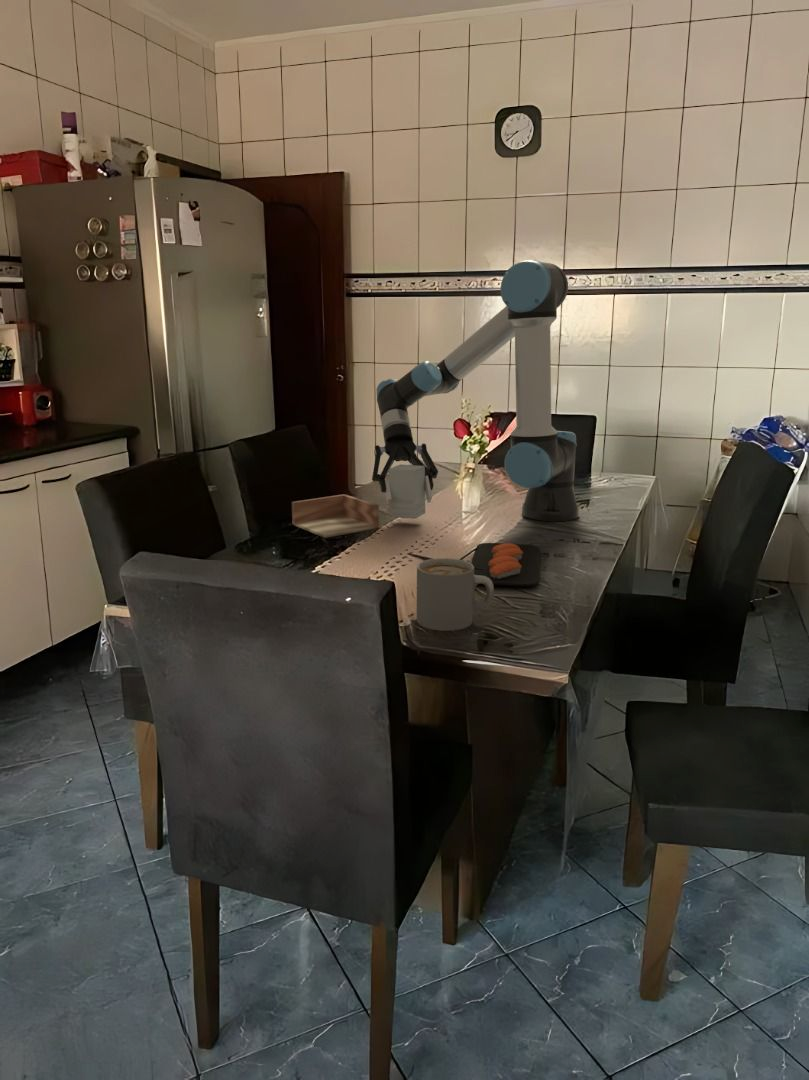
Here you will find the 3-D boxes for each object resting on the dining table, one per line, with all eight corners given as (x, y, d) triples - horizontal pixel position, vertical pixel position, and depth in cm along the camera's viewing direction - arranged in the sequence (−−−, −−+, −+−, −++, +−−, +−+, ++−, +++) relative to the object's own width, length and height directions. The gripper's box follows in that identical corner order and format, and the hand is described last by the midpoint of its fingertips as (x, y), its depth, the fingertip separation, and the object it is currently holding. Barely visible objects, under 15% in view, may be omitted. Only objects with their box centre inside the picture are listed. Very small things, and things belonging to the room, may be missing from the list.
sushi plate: (539, 594, 157) (539, 575, 156) (388, 585, 162) (388, 567, 161) (540, 553, 185) (541, 537, 184) (411, 546, 189) (412, 530, 188)
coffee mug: (411, 628, 138) (411, 572, 136) (422, 608, 148) (423, 556, 145) (488, 634, 135) (490, 578, 133) (495, 614, 145) (497, 561, 142)
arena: (378, 528, 204) (378, 505, 202) (324, 537, 195) (324, 513, 193) (344, 515, 216) (344, 494, 214) (292, 524, 207) (291, 501, 205)
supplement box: (426, 513, 209) (426, 465, 206) (414, 519, 203) (414, 470, 199) (400, 511, 212) (400, 463, 209) (388, 517, 206) (387, 468, 202)
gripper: (435, 437, 220) (449, 506, 209) (354, 440, 215) (364, 511, 204) (440, 420, 213) (455, 490, 202) (356, 423, 209) (367, 494, 198)
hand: (409, 500), depth 203 cm, fingers closed on supplement box, 10 cm apart
